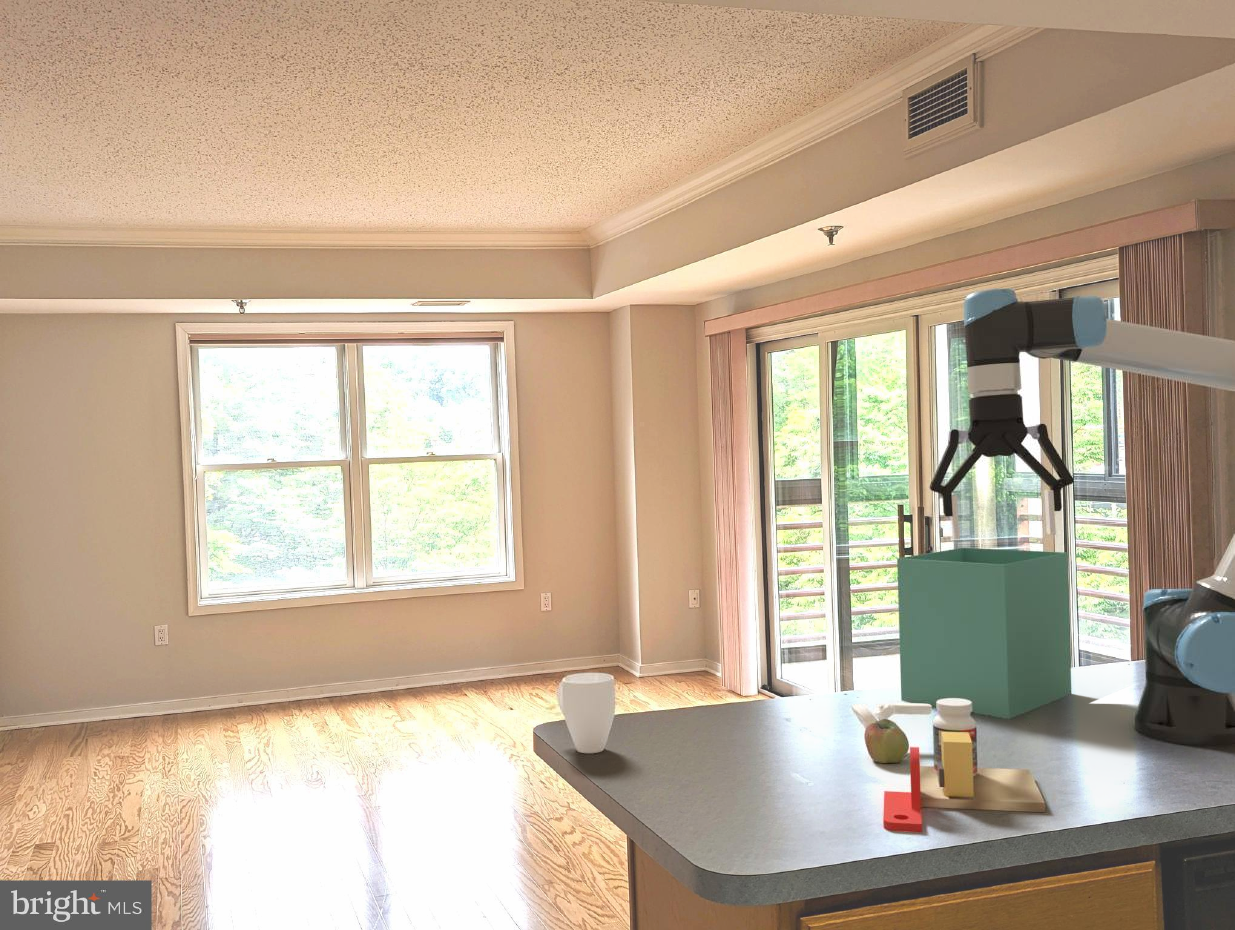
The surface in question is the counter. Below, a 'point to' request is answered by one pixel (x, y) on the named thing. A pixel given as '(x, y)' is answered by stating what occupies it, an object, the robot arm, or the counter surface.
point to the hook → (889, 711)
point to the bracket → (905, 802)
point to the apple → (886, 741)
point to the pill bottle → (954, 726)
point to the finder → (956, 764)
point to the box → (985, 628)
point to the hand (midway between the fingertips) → (1003, 536)
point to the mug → (588, 709)
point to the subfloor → (986, 791)
